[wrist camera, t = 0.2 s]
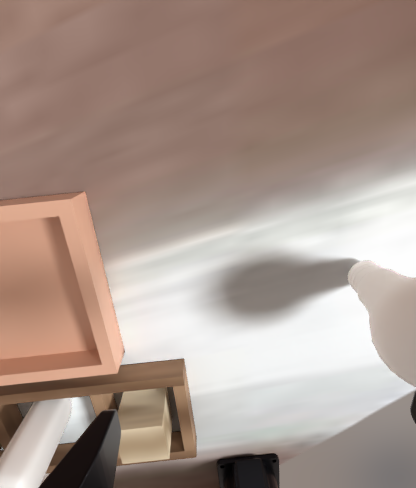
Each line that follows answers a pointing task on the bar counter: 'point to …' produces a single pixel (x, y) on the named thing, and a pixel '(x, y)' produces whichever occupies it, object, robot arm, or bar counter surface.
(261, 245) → the bar counter surface
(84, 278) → the tray
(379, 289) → the lightbulb
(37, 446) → the eye dropper bottle
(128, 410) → the block
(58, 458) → the frame
